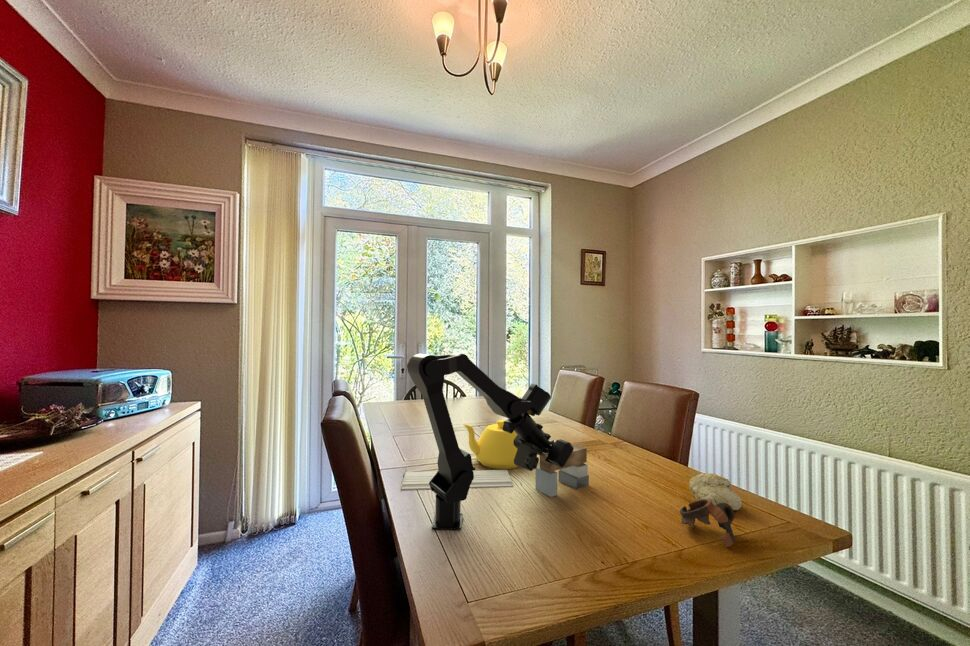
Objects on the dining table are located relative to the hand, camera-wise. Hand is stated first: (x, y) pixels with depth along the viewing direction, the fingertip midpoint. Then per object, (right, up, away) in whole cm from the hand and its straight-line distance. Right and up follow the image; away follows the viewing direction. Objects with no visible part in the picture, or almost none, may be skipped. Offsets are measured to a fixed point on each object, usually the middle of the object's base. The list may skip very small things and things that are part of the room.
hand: (557, 463), depth 103 cm
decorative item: (+39, -8, -8) cm, 40 cm away
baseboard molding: (-28, -8, +4) cm, 30 cm away
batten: (+2, -1, +1) cm, 3 cm away
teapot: (-16, -8, +21) cm, 27 cm away
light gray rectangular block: (-3, -7, -2) cm, 8 cm away
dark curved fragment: (+29, -7, -23) cm, 38 cm away
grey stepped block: (+5, -7, +3) cm, 10 cm away
